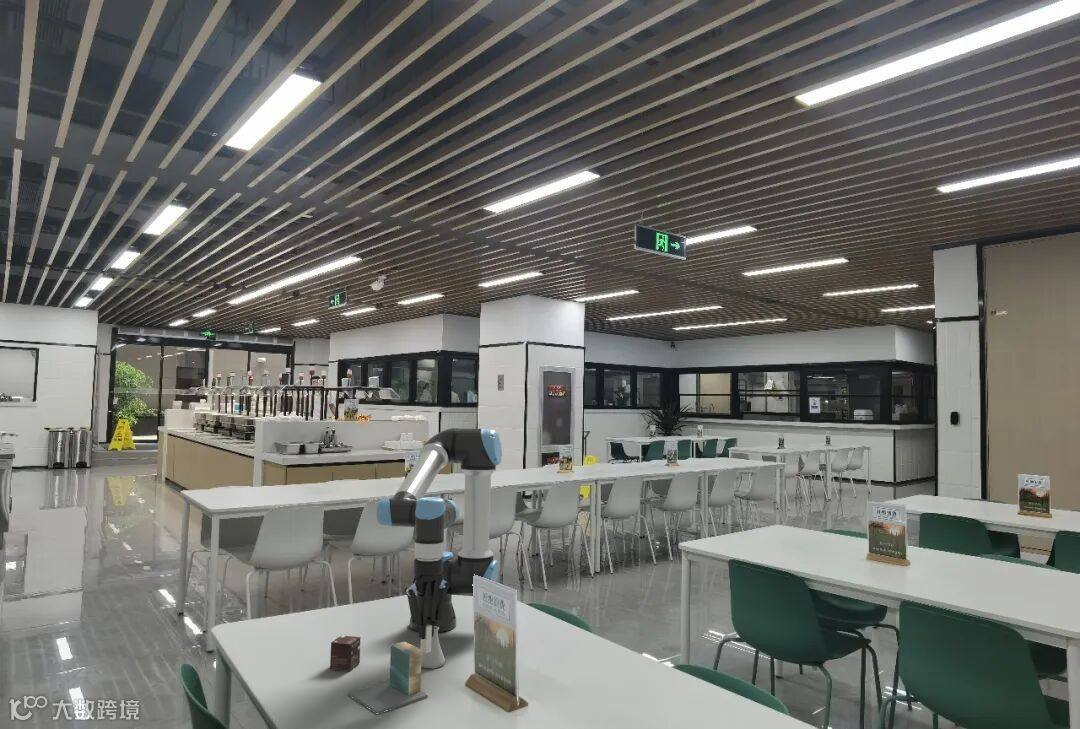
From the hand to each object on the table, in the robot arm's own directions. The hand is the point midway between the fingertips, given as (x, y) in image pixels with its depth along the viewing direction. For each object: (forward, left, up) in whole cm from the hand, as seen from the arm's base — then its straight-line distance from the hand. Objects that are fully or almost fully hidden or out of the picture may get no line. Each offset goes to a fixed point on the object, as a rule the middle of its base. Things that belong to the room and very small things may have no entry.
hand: (425, 650), depth 171 cm
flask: (-9, -10, -9) cm, 16 cm away
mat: (+11, 0, -9) cm, 14 cm away
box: (+10, -24, -9) cm, 27 cm away
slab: (+6, 0, -8) cm, 10 cm away
